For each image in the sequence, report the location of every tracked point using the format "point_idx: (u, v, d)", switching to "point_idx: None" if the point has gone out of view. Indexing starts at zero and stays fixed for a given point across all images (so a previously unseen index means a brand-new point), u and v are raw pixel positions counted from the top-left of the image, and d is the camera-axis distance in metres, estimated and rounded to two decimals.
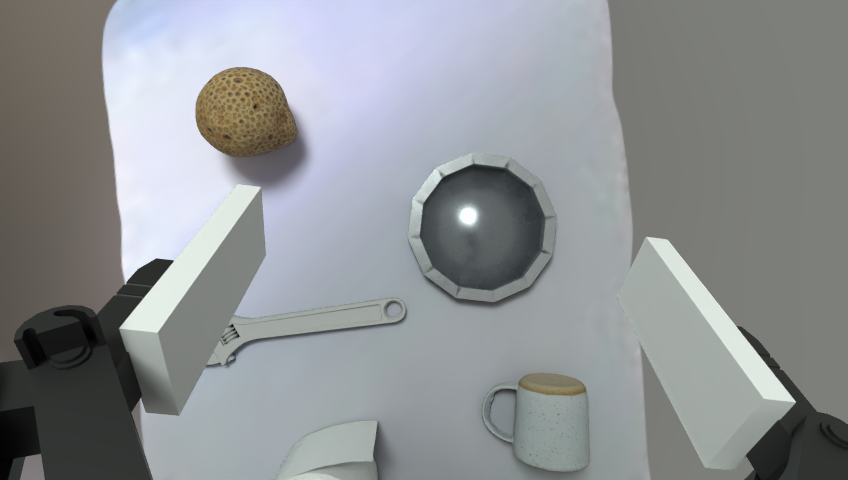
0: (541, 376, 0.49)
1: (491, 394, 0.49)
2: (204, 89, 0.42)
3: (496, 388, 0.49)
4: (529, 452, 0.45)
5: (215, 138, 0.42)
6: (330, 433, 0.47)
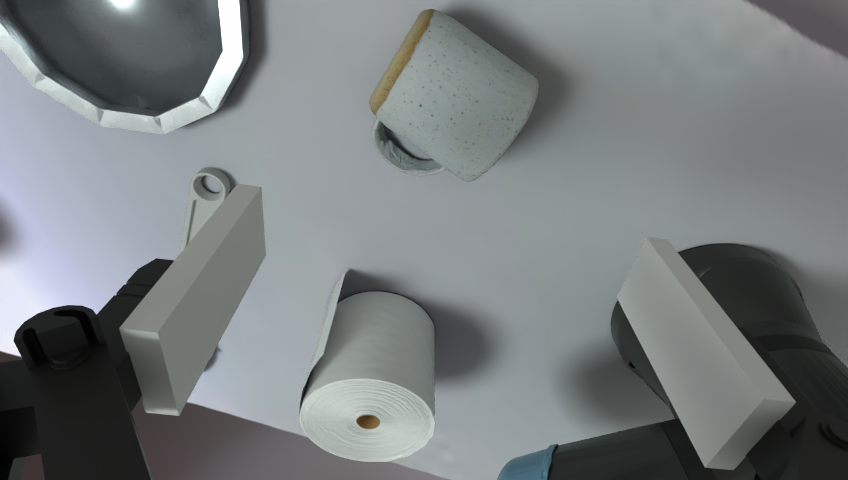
0: None
1: (380, 145, 0.32)
2: None
3: (373, 136, 0.31)
4: (456, 171, 0.28)
5: None
6: None
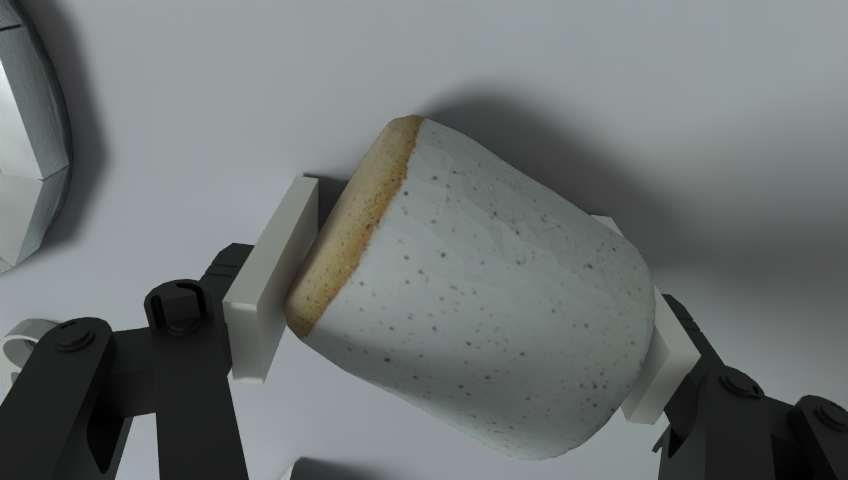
0: (341, 201, 0.14)
1: None
2: None
3: None
4: None
5: None
6: None
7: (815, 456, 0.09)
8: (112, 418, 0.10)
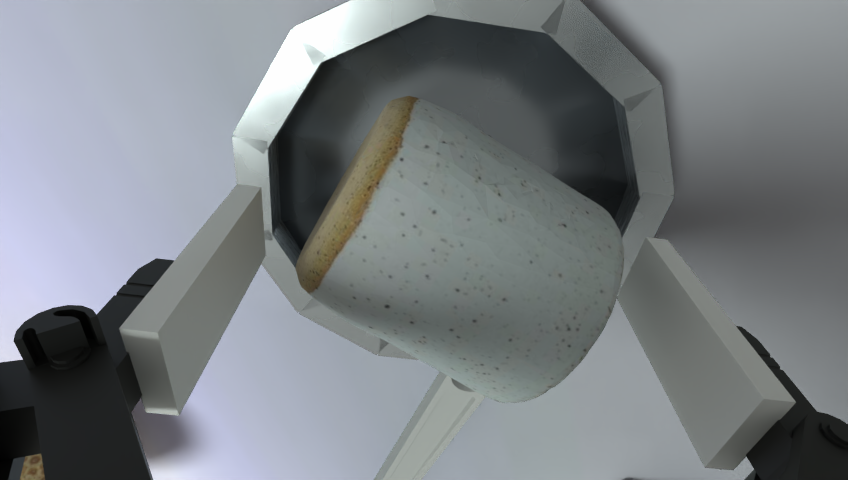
0: (345, 177, 0.16)
1: None
2: None
3: None
4: (462, 383, 0.15)
5: None
6: None
7: None
8: None
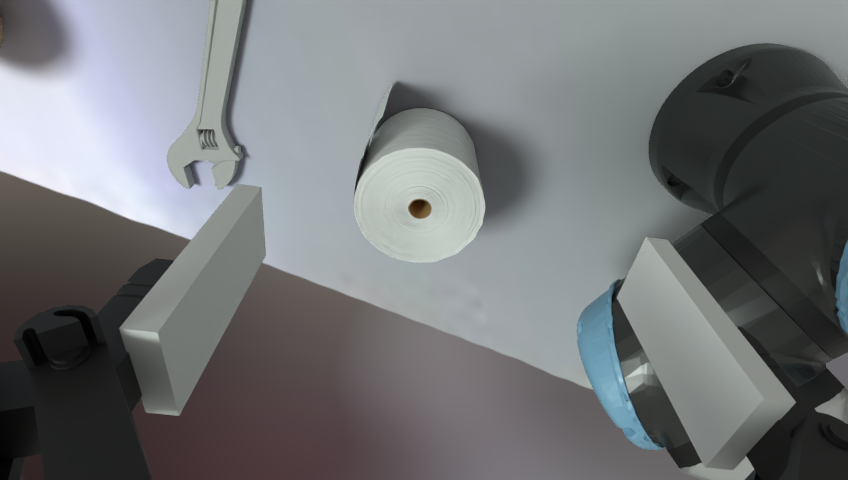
0: None
1: None
2: None
3: None
4: None
5: None
6: None
7: None
8: None
